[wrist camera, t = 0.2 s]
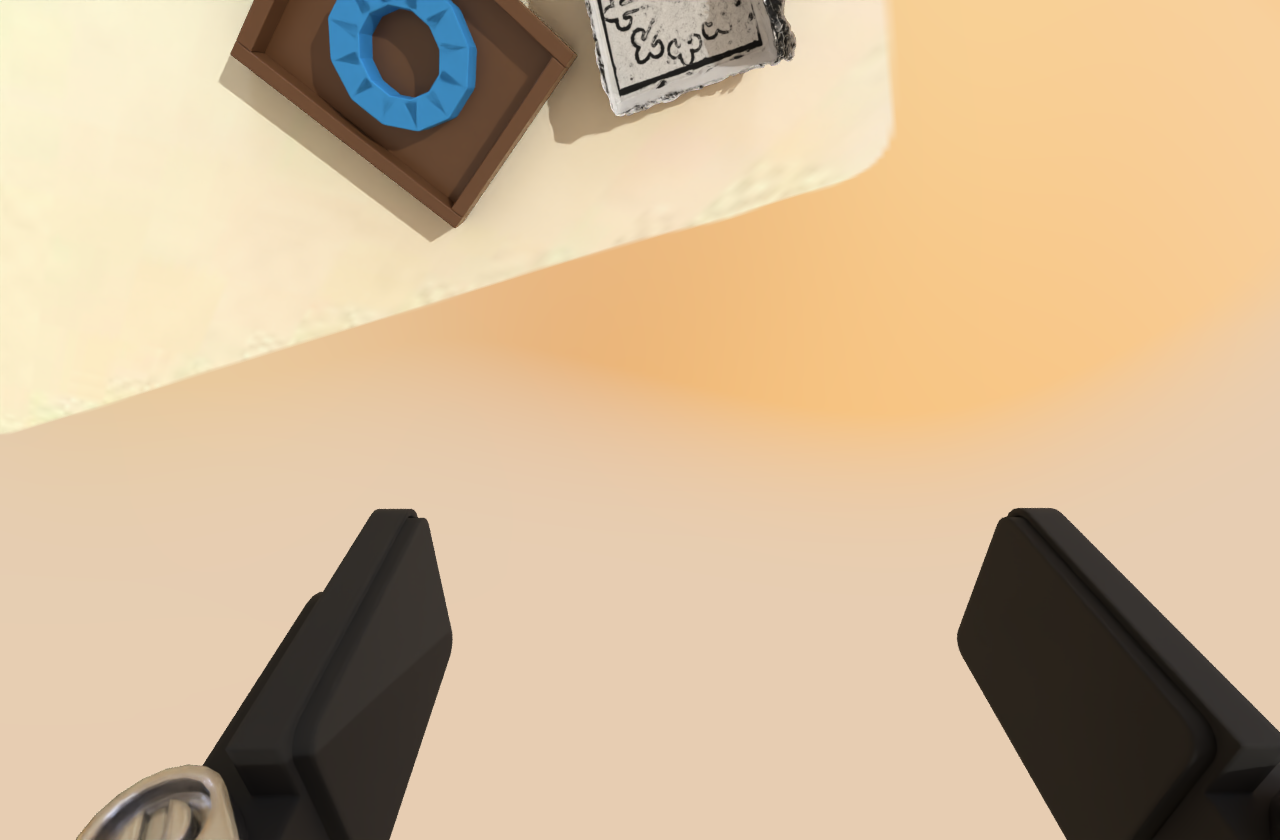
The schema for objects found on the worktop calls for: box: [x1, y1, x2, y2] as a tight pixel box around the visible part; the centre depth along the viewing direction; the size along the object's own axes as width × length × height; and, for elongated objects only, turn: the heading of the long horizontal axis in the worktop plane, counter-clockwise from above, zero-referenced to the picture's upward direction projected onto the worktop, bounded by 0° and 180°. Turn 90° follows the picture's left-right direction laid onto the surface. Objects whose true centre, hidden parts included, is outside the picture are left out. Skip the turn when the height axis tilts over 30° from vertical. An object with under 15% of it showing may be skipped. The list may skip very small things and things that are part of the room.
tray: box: [231, 0, 577, 228], centre depth 32 cm, size 12×14×2 cm
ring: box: [328, 0, 477, 131], centre depth 31 cm, size 7×7×2 cm
